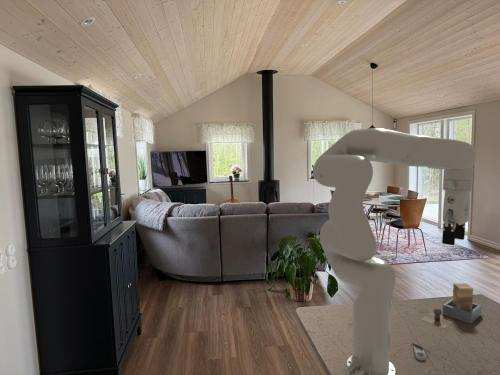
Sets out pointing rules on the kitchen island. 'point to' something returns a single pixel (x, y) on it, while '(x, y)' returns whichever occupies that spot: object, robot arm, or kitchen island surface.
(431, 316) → the stud plate
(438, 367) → the kitchen island surface
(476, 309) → the bin
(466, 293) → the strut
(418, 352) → the adjustable wrench
